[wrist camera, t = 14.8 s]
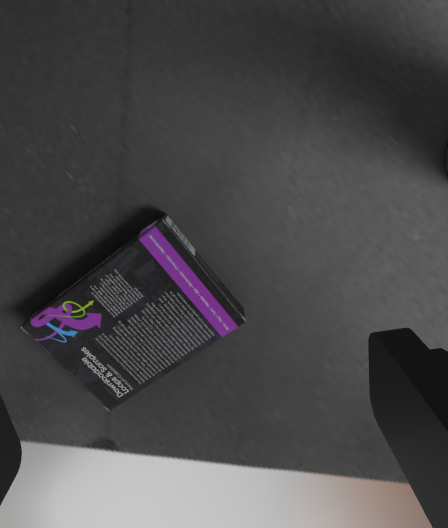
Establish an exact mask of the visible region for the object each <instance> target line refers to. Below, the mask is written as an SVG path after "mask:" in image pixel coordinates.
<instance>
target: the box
mask: <svg viewBox="0 0 448 528" xmlns="http://www.w3.org/2000/svg"><path fill="white" fill-rule="evenodd" d="M245 322H246V320H245V314H244V309H243V307H242V306H241V305H240V304H239V303H238V301H237V300H236V299H235V298H234V297H233V295H232V294H231V293H230V292H229V290H228V289H227V288H226V287H225V286H224V284H223V283H222V282H221V281H220V279H219V278H218V277H217V276H216V275H215V273H214V272H213V271H212V270H211V268H210V267H209V266H208V265H207V264H206V262H205V261H204V260H203V259H202V257H201V256H200V255H199V254H198V253H197V251H196V250H195V249H194V248H193V246H192V245H191V244H190V243H189V241H188V240H187V239H186V238H185V237H184V235H183V234H182V233H181V232H180V230H179V229H178V228H177V227H176V225H175V224H174V223H173V222H172V220H171V219H170V218H169V217H168V216H167V214H164V215H162V216H161V217H159V218H158V219H157V220H155V221H154V222H153V223H151V224H150V225H149V226H147V227H146V228H145V229H144V230H142V231H141V232H140V233H138V234H137V235H136V236H134V237H133V238H132V239H131V240H129V241H128V242H127V243H125V244H124V245H123V246H121V247H120V248H119V249H117V250H116V251H115V252H113V253H112V254H111V255H110V256H108V257H107V258H106V259H104V260H103V261H102V262H100V263H99V264H98V265H97V266H95V267H94V268H93V269H91V270H90V271H89V272H87V273H86V274H85V275H83V276H82V277H81V278H80V279H78V280H77V281H76V282H74V283H73V284H72V285H70V286H69V287H68V288H67V289H65V290H64V291H63V292H61V293H60V294H59V295H58V296H56V297H55V298H54V299H52V300H51V301H50V302H48V303H47V304H46V305H44V306H43V307H42V308H40V309H39V310H38V311H37V312H35V313H34V314H33V315H31V316H30V317H29V318H28V319H27V320H26V321H25V322H24V323H23V324H22V325H21V329H23V330H24V331H25V332H26V333H28V334H29V335H30V336H31V337H32V338H33V339H35V340H36V341H37V342H38V343H39V344H40V345H41V346H42V347H43V348H44V349H45V350H46V351H47V352H48V353H49V354H50V355H51V356H52V357H53V358H54V359H55V360H57V361H58V362H59V363H60V364H61V365H62V366H63V367H64V368H65V369H66V370H67V371H68V372H69V373H70V374H71V375H73V376H74V377H75V378H76V379H77V380H78V381H79V382H80V383H81V384H82V385H83V386H84V387H85V388H86V389H87V390H88V391H89V392H91V393H92V394H93V395H94V396H95V397H96V398H97V399H98V400H99V401H100V402H101V403H102V404H103V405H104V407H105V408H106V409H107V410H108V411H111V410H112V409H114V408H115V407H117V406H118V405H120V404H121V403H123V402H124V401H126V400H128V399H129V398H131V397H132V396H134V395H135V394H137V393H138V392H140V391H141V390H143V389H144V388H146V387H147V386H149V385H150V384H152V383H153V382H155V381H157V380H158V379H160V378H161V377H163V376H164V375H166V374H167V373H169V372H170V371H172V370H173V369H175V368H176V367H178V366H179V365H181V364H182V363H184V362H185V361H187V360H189V359H190V358H192V357H193V356H195V355H196V354H198V353H199V352H201V351H202V350H204V349H205V348H207V347H208V346H210V345H211V344H213V343H214V342H216V341H217V340H219V339H220V338H222V337H223V336H225V335H226V334H228V333H230V332H231V331H233V330H234V329H236V328H237V327H239V326H240V325H242V324H243V323H245Z"/></svg>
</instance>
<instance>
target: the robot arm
mask: <svg viewBox="0 0 448 528" xmlns="http://www.w3.org/2000/svg"><path fill="white" fill-rule="evenodd" d="M446 168H447V171H448V145H447V150H446ZM369 386H370V400H371V405H372V409H373V413H374V416H375V419H376V421H377V423H378V425H379V427H380V429H381V431H382V433H383V435H384V437H385V439H386V441H387V442H388V444H389V446H390V448H391V450H392V452H393V454H394V456H395V457H396V459H397V461H398V463H399V465H400V467H401V469H402V471H403V473H404V474H405V476H406V478H407V480H408V482H409V484H410V486H411V488H412V489H413V491H414V493H415V495H416V497H417V499H418V501H419V503H420V505H421V506H422V508H423V510H424V512H425V514H426V516H427V518H428V519H429V521H430V523H431V525H432V527H433V528H448V352H447V351H445V350H444V349H442V348H438V349H431V350H430V349H429V348H428V347H427V346H426V345H425V344H424V343H423V342H422V341H421V340H420V338H419V337H418V336H417V335H416V334H415V333H414V332H413V331H412V330H411V329H409V328H401V329H394V330H387V331H380V332H373V333H371V334H370V336H369ZM21 455H22V450H21V443H20V440H19V438H18V435H17V433H16V431H15V428H14V426H13V423H12V421H11V419H10V416H9V414H8V412H7V409H6V407H5V405H4V402H3V400H2V397H1V395H0V505H1V503H2V501H3V499H4V497H5V495H6V494H7V492H8V490H9V488H10V486H11V484H12V482H13V480H14V479H15V477H16V475H17V473H18V470H19V467H20V463H21Z"/></svg>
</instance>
